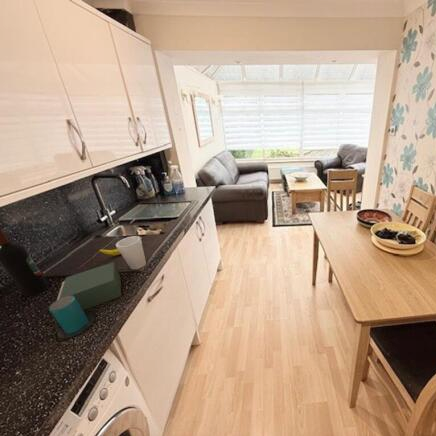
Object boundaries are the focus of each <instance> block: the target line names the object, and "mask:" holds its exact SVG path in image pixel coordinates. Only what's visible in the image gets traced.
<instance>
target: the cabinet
mask: <svg viewBox="0 0 436 436" xmlns="http://www.w3.org/2000/svg"><path fill="white" fill-rule="evenodd" d="M64 281H65V282H64V285H63V288H62V292H61V295H60V298H63V297H66V296H74V297H75V298H76V300H77V302H78V303H79V305H80V306H81V308H82V310H83V311H84V312H85V311H87V310H88V309H91V308H94V307H96V306H99V305H102V304H104V303H107V302H110V301H112V300H115V299H117V298H120V297H122V276H121V274H120V272H119V270H118V268H117V266H116V264H115V262H114V261H113V262H109V263H105V264H104V265H101V266H97V267H94V268H91V269H88V270H85V271H82V272H79V273H76V274H72V275H70V276H67V277H65V279H64ZM60 298H59V299H60Z"/></svg>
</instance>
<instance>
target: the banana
mask: <svg viewBox="0 0 436 436" xmlns="http://www.w3.org/2000/svg"><path fill="white" fill-rule="evenodd" d="M140 238H141V240H142V239H143V237H141V236H140ZM97 251H99V252H100V253H102V254H105V255H107V256H119V255H121V253H120V252H119V251H118V249H117V248H115V249H97Z"/></svg>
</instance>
